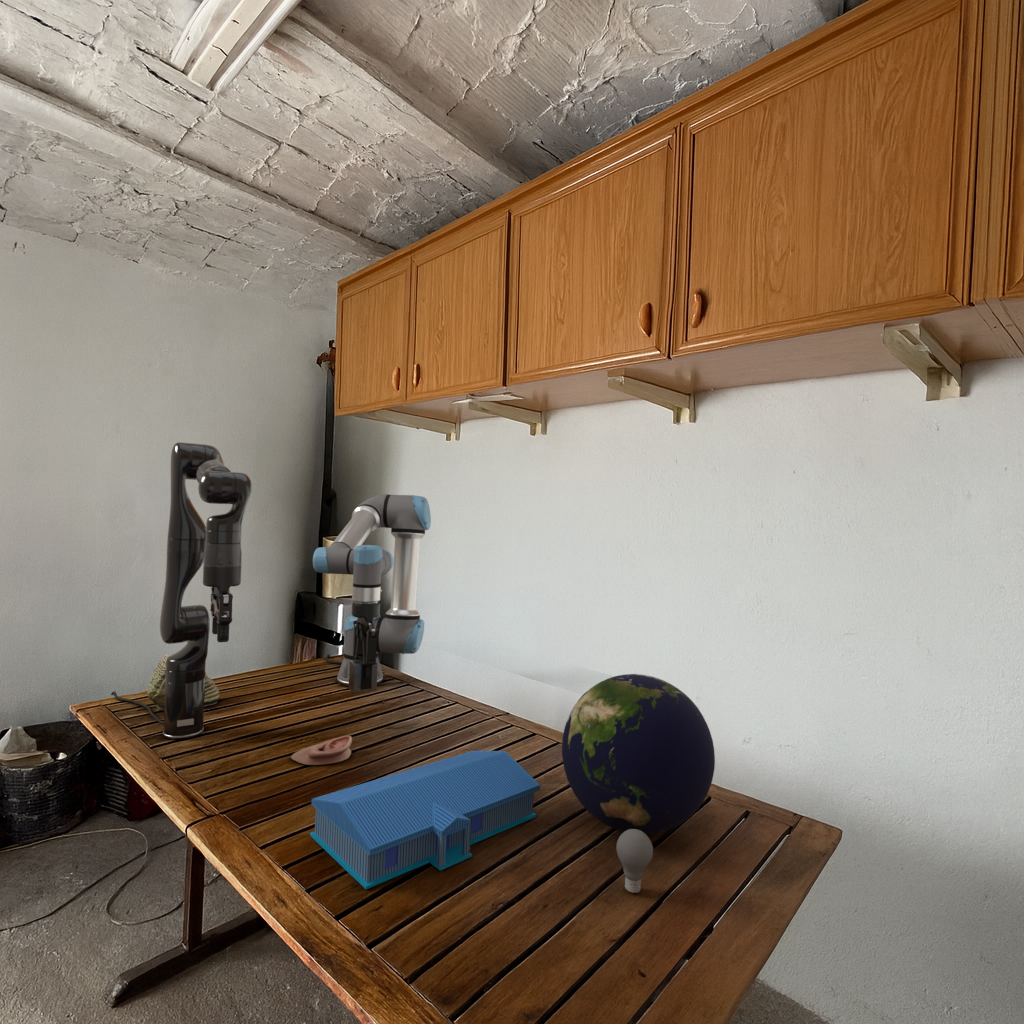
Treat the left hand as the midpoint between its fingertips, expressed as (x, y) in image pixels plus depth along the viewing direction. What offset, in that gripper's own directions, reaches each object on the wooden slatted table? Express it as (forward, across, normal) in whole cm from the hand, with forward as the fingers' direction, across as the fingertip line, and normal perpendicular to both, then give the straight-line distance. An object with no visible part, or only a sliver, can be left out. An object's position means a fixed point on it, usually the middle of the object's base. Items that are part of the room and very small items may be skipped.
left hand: (220, 637), depth 138 cm
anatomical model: (+32, +3, -24) cm, 40 cm away
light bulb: (+32, -73, -55) cm, 97 cm away
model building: (+32, -40, -34) cm, 61 cm away
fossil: (+32, +56, +2) cm, 64 cm away
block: (+21, +18, -39) cm, 48 cm away
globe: (+32, -57, -70) cm, 96 cm away
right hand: (+20, +18, -39) cm, 47 cm away
